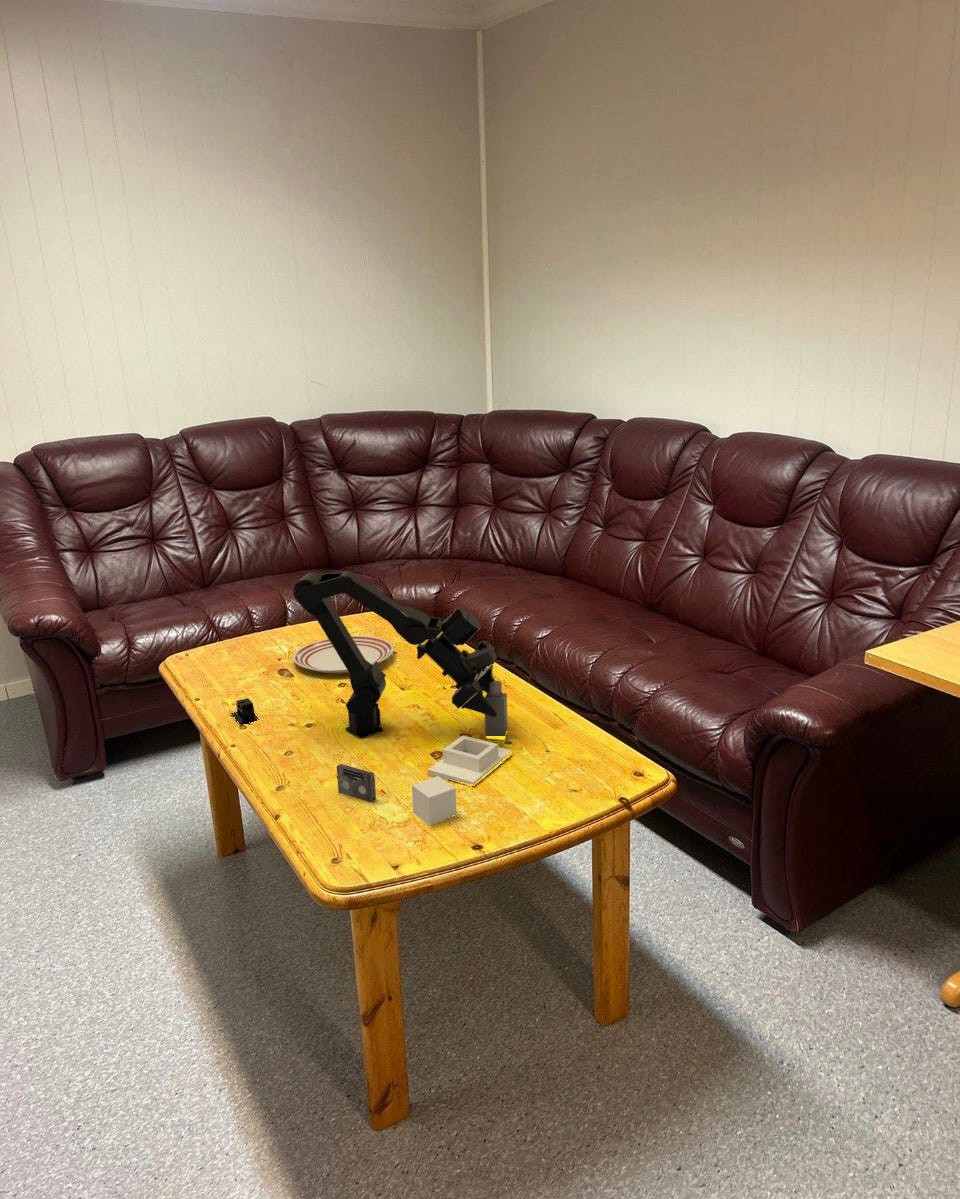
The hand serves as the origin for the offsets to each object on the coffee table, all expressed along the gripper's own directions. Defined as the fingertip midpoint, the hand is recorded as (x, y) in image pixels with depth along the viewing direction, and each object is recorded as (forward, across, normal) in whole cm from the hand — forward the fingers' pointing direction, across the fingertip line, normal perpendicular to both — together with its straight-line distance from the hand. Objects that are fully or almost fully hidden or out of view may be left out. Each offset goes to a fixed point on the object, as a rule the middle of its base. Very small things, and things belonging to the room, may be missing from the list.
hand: (499, 707), depth 206 cm
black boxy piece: (-38, +1, +49) cm, 62 cm away
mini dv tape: (-11, -31, +22) cm, 39 cm away
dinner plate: (-31, +40, +41) cm, 65 cm away
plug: (+5, 0, +6) cm, 7 cm away
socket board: (+2, -14, +8) cm, 16 cm away
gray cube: (+1, -35, +10) cm, 36 cm away
